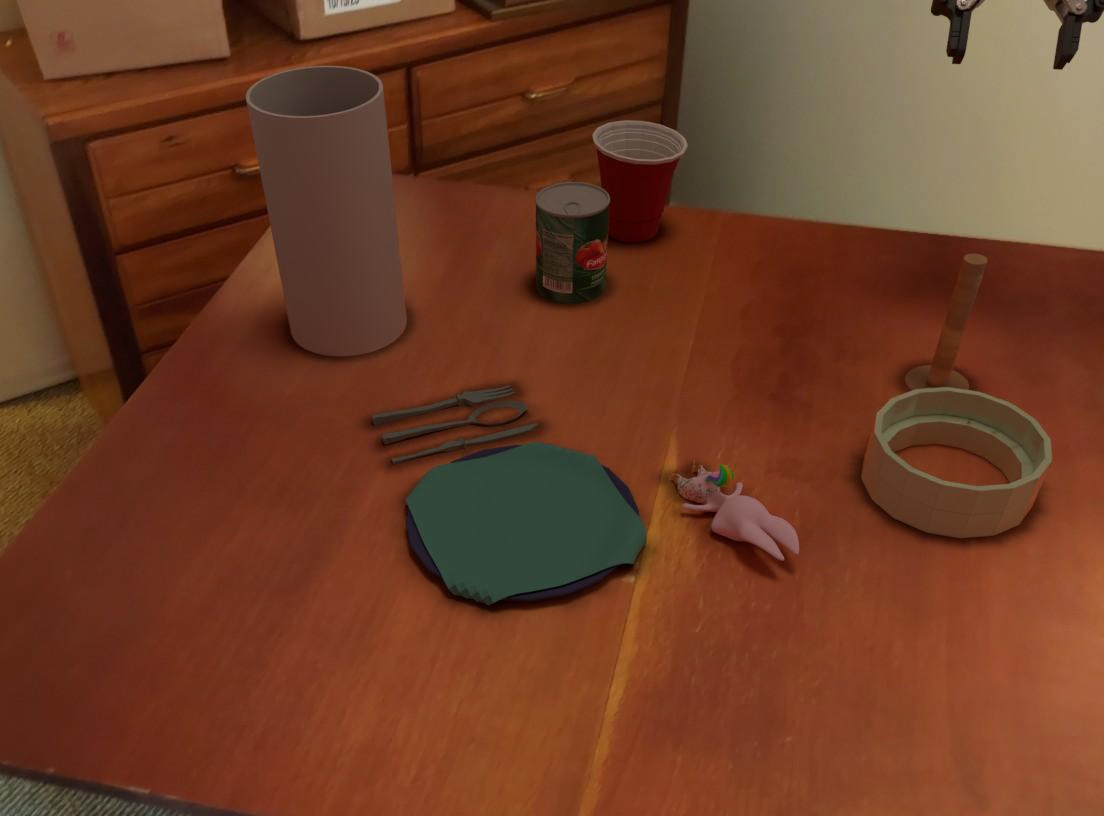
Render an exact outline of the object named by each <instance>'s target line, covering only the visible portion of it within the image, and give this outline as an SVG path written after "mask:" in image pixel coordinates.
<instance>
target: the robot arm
mask: <svg viewBox="0 0 1104 816" xmlns="http://www.w3.org/2000/svg"><path fill="white" fill-rule="evenodd" d="M985 1H986V0H932V1H931V7H930V14H932V16H934V17H939V16H943V17H945V18H947V20H948V21H949V30H948V36H947V41H946V50H945V52H946V56H947V58H952V59H951V65H961V64H962V62H963V60H964V59H965V56H966V52H967V45H968V40H969V33H970V26H971V21H972V20H971V19H972V13H973V12H974V11H975V9H978V8H979V7H981V5H982V4H983V3H984V2H985ZM1043 2H1044V4H1045V5H1046V7H1047V9H1049V11H1052V12H1054V13H1055V16H1056V17H1057V19H1058V20H1059V21H1060V23H1061V26H1060V27H1059V28H1058V34H1057V40H1056V47H1055V52H1054V59H1053V66H1052V69H1053V70H1057V71H1058V70H1059V71H1063V69H1064V68H1065V66H1066V64H1071V62H1072V60H1073V59H1074V58H1075V55H1076V54H1077V52H1078V51H1079V49H1080V48H1079V47H1080V41H1081V34H1082V27H1083V24H1085V23H1090V24H1094V23H1096V22H1098V21H1099V20H1100V19H1101V17H1102V15H1103V13H1104V0H1043Z"/></svg>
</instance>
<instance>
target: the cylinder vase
mask: <svg viewBox="0 0 1104 816" xmlns="http://www.w3.org/2000/svg"><path fill="white" fill-rule="evenodd" d="M245 101H246V106H247V111H248V116H249V121H250V127H251V132H252V137H253V143H254V148H255V153H256V158H257V163H258V167H259V168H258V169H259V174H260V180H261V185H262V189H263V194H264V199H265V206H266V210H267V215H268V220H269V226H270V230H271V231H270V232H271V235H272V241H273V246H274V247H273V248H274V252H275V256H276V261H277V267H278V273H279V278H280V283H281V287H282V292H283V293H282V294H283V299H284V303H285V308H286V309H285V310H286V313H287V319H288V325H289V329H290V334H291V337H292V339H293V340H294V342H295V343H296V344H297V345H298V346H299V347H301V348H302V349H304V350H306V351H309V352H311V353H314V354H318V355H322V356H328V357H353V356H354V357H355V356H361V355H366V354H369V353H372V352H375V351H379V350H381V349H383V348H385V347H387V346H389V345H391V344H392V343H394V342H395V341H396V340H397V339H399V338H400V337H401V336H402V334H403V333H404V331H405V329H406V327H407V322H408V317H407V308H406V307H407V306H406V298H405V287H404V280H403V279H404V278H403V269H402V258H401V248H400V241H399V239H400V238H399V229H398V221H397V209H396V203H395V202H396V200H395V191H394V189H395V188H394V181H393V180H394V179H393V172H392V170H393V169H392V162H391V151H390V141H389V134H388V133H389V132H388V123H387V114H386V113H387V112H386V103H385V93H384V85H383V82H382V80H381V79H380V78H379V77H378V76H377V75H375V74H373V73H372V72H369V71H367V70H363V69H361V68H360V69H359V68H355V67H350V66H343V65H341V66H340V65H314V66H312V65H311V66H304V67H297V68H292V69H291V68H290V69H288V70H287V69H286V70H283V71H280V72H276V73H273V74H271V75H267V76H266V77H263V78H261V79H260V80H258V81H257V82H255V83H253V84H252V85H251V86H250V87H249V88H248V89H247V91H246V94H245Z"/></svg>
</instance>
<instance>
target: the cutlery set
mask: <svg viewBox="0 0 1104 816" xmlns="http://www.w3.org/2000/svg"><path fill="white" fill-rule="evenodd" d="M514 395H516V391H514V389H513V388H512V386H511V384H509V385H505V386H502V387H497V388H487V389H479V390H473V391H466V390H463V392H462V394H459V393H455V397H453V398H449V399H445V400H442V401H439V402H435V403H433V404H428V405H423V406H418V407H412V408H407V409H406V408H405V409H399V410H392V411H391V410H390V411H388V412H387V411H386V412H383V413H375V414H373V415H371V420H372V424H373V426H377V425H382V424H386V423H387V424H388V423H392V422H395V421H400V420H403V419H404V420H405V419H408V418H412V417H416V416H421V415H425V414H429V413H433V412H438V411H442V410H444V409H447V408H451V407H454V406H458V407H461V406H463V405H466V406H468V407H470V408H472V407H475V406H479V405H483V404H485V405H483V406H481V407H478V408H476V409H475V410H474V411H473V412H472V413H471V414H470V415H469V416H468V418H467V419H464V420H463V419H462V420H454V421H449V422H448V421H447V422H444V423H436V424H427V425H423V426H419V427H413V428H407V429H404V430H398V431H393V432H389V433H388V432H387V433H383V434H381V440H382V442H383V445H385V446H386V445H390V444H393V443H396V442H400V441H403V440H407V439H410V438H413V437H414V438H415V437H419V436H421V435H425V434H429V433H434V432H437V431H443V430H447V429H452V428H457V427H461V426H467V425H482V426H487V427H491V426H501V425H505V424H507V423H509V422H512V421H514V420H516V419H519V417H520V416H521V415H522V414H524V413H525V412H526V411H527V410H528V409H529V407H528V406H527V405H526V403H525V402H523V401H514V400H503V401H496V400H501V399H504V398H508V397H512V396H514ZM494 401H496V402H494ZM489 402H491V403H489ZM486 403H488V404H486ZM503 407H506V408H513V409H516V410H517V411H518V415H516V416H514V417H512V418H510V419H507V420H504V421H497V422H496V421H495V422H490V423H489V422H488V423H487V422H480V421H477V419H476V418H477V417H478V416H479V415H480V414H481V413H483V412H485V411H487V410H490V409H495V408H503ZM537 428H538V423H537V422H534V423H531V424H527V425H523V426H522V425H521V426H519V427H514V428H511V429H505V430H502V431H497V432H494V433H490V434H486V435H481V436H478V437H474V438H470V439H466V440H464V438H463V437H462V436H460V437H459V439H458V440H456V441H455V440H448V441H447V440H446V441H445V442H444V443H442V444H440V445H439V446H437V447H433V448H428V449H425V450H423V451H420V452H416V453H414V454H408V455H403V456H399V457H390V461H391V463H392V465H393V466H395V465H397V464H400V463H403V462H407V461H409V460H413V459H416V458H420V457H423V456H429V455H433V454H437V453H453V452H455V451H457V450H461V449H463V450H466V448H467V447H473V446H480V445H486V444H491V443H496V442H501V441H505V440H509V439H512V438H515V437H519V436H524V435H527V434H529V433H532V432H533V431H535V430H536V429H537ZM631 491H632V490H631V489H630V487H629V486H628V485H627V484H626V483H625V482H624V481H623V480H622V479H621V478H620V477H619V476H618V475H617V474H616V473H615V472H614V471H613V470H611V469H610V468H609V467H607V466H606V465H604V464H602V463H601V462H600V460H599V459H598V458H597V456H596V455H594V454H590V453H585V452H584V451H576V450H574V449H573V448H564V446H560V445H554V444H553V443H544V442H543V441H532V442H529V443H525V444H513V445H506V446H498V447H492V448H484V449H481V450H479V451H476V452H473V453H470V454H467V455H465V456H462V457H459V458H457V459H454V460H451V461H450V462H449V463H444V464H438V465H436V466H433V467H432V468H431V469H429V470H428V471H426V472H425V473H424V475H423V476H422V477H421V478H420V479H419V481H418V482H417V483H416V484H415V486H414V487H413V488H412V490H411V491H410V492H409V494H408V495H407V496H406V497H405V498H404V501H405V503H406V505H407V506H408V512H407V515H406V519H405V526H406V530H407V534H408V535H407V536H408V540H409V545H410V548H411V550H412V551H413V553H414V554H415V555H416V556H417V558H418V559H419V561H420V562H421V563H422V564H423V566H424V567H425V569H426V570H427V571H428V572H429V573H431V574H432V575H434V576H435V577H437V578H439V579H440V580H442V581H443V582H444V585H446V587H447V589H448V591H449V592H450V593H452V594H453V596H458V597H463V598H464V599H466V600H467V599H469V600H474V601H475V602H476V603H480V604H481V603H482V604H485V605H487V606H490V605H492V604H494V603H496V602H499V601H510V602H511V601H512V602H530V603H531V602H536V601H542V600H549V599H554V598H560V597H566V596H570V595H572V594H574V593H576V592H579V591H582V590H583V589H586V588H588V587H591V586H592V585H595V584H598V583H599V582H601V581H603V580H604V579H605V578H606V577H607V576H609V575H610V574H611V573H612V572H614V570H616V569H617V568H618V567H619V566H621V565H623V564H631V565H635V563H636V560H637V557H638V556H639V554H640V552H642V550H643V548H644V546H645V545H646V543H647V529H646V527H645V524H644V521H643V520H642V519H641V517H640V509H639V506H638V504H637V502H636V500H635V498H634V495H633V494H632V492H631Z"/></svg>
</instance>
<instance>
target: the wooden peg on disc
mask: <svg viewBox="0 0 1104 816" xmlns="http://www.w3.org/2000/svg"><path fill="white" fill-rule="evenodd" d="M987 264H988V258H987V257H986V256H984V255H982V254H979V253H967V254H965V255H964V256H963V259H962V262H961V266H960V269H959V272H958V276H957V279H956V283H955V286H954V288H953V292H952V295H951V299H950V301H949V305H948V308H947V311H946V315H945V317H944V321H943V324H942V328H941V332H940V335H939V337H938V341H937V345H936V348H935V351H934V354H933V356H932V357H933V358H932V361H931V364H928V365H925V364H924V365H919V366H915V367H913V368H911V369H910V370H908V371H907V373H906V374H905V376H904V384H905V386H906V387H907V389H908V390H909V391H912V390H915V389H925V388H938V387H951V388H958V389H965V390H970V384H969V382H968V380H967V378H966V377H965V376H964V375H962V374H961V373H960V372H958V371H956V370H955V369H954V366H955V363H956V360H957V357H958V354H959V351H960V347H961V345H962V342H963V338H964V336H965V332H966V329H967V326H968V322H969V320H970V317H971V314H972V310H973V308H974V304H975V301H976V298H977V295H978V292H979V289H980V286H981V283H982V280H983V276H984V273H985V270H986V267H987Z"/></svg>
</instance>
